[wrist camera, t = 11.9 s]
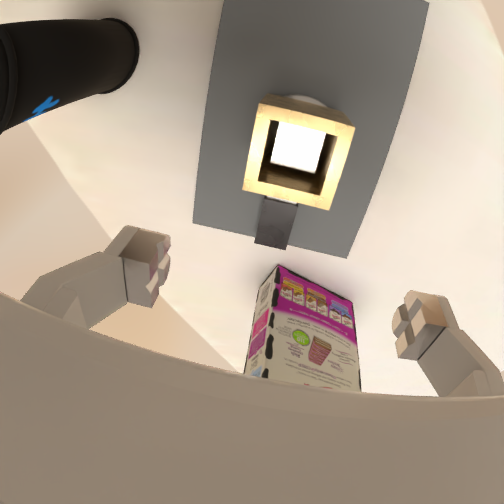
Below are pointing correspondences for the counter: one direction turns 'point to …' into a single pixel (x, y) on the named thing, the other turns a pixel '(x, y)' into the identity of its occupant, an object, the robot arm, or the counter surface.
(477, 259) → the counter surface
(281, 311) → the candy bar box
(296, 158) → the ratchet
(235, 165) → the mat
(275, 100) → the brass square frame
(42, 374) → the robot arm
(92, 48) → the aerosol can
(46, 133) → the counter surface
